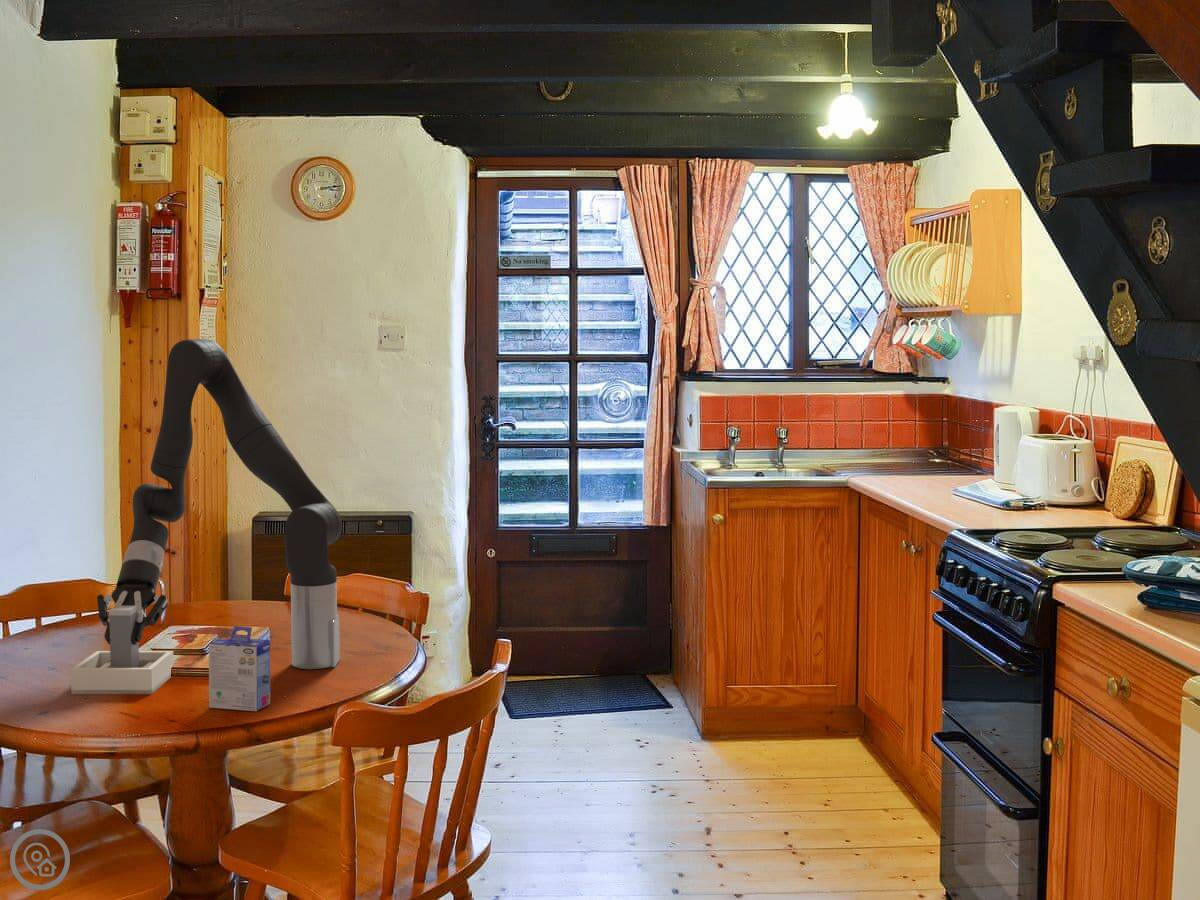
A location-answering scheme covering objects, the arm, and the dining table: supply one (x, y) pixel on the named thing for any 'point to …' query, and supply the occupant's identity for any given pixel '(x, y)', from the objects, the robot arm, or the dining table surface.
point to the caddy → (121, 674)
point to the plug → (123, 637)
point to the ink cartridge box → (239, 672)
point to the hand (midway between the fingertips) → (121, 642)
